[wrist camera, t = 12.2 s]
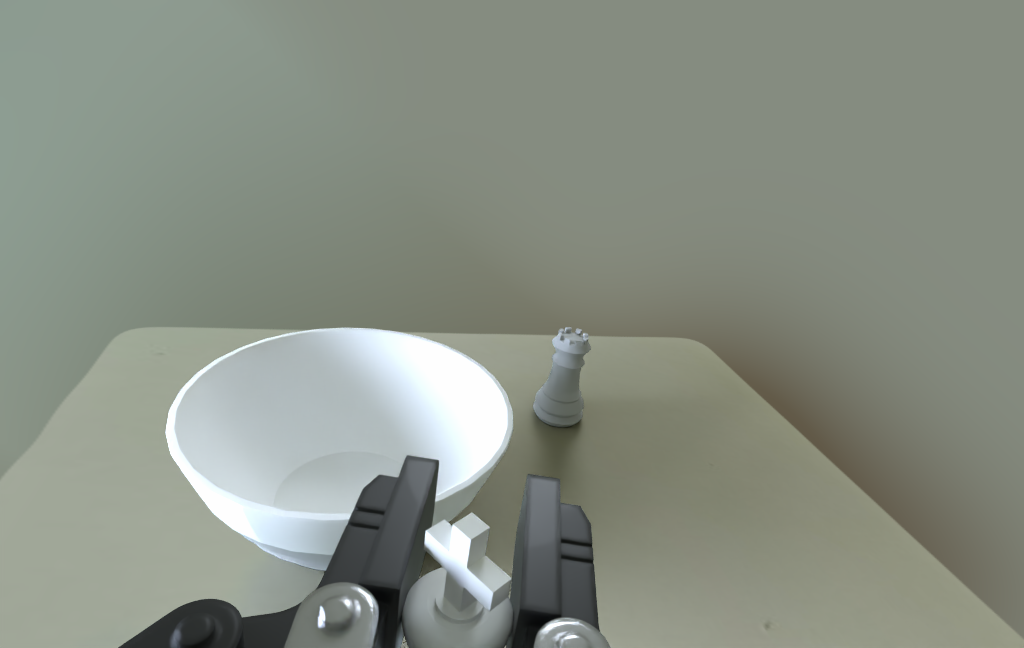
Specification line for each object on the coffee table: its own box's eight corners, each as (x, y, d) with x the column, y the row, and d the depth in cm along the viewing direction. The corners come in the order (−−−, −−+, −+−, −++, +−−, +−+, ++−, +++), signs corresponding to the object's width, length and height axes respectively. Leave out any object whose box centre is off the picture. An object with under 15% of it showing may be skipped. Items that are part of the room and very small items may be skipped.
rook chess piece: (576, 402, 54) (594, 324, 51) (586, 431, 50) (605, 349, 47) (529, 398, 53) (543, 319, 50) (534, 427, 49) (550, 344, 46)
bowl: (528, 462, 45) (546, 370, 42) (425, 699, 28) (441, 577, 24) (307, 394, 49) (306, 305, 45) (96, 567, 32) (68, 445, 28)
